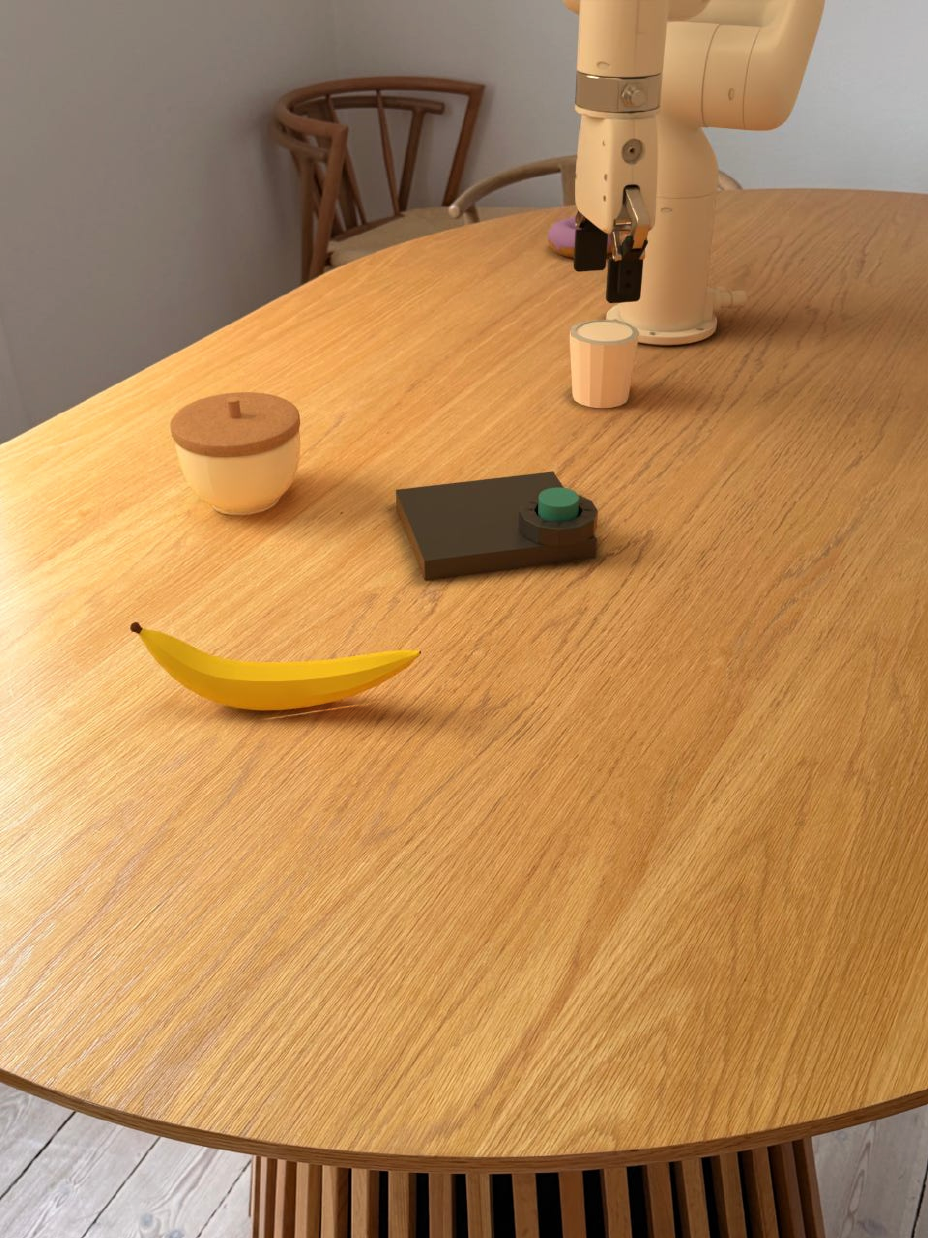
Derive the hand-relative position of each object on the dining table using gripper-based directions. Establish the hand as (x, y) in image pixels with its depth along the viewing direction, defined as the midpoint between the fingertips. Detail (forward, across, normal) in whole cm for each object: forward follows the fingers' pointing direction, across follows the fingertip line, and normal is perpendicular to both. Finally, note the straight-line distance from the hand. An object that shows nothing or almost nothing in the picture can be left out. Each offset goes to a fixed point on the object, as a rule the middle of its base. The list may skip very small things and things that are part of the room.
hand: (605, 284), depth 116 cm
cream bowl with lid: (+13, -12, +36) cm, 41 cm away
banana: (+13, -42, +36) cm, 57 cm away
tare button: (+9, -27, +13) cm, 31 cm away
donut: (+11, +47, -13) cm, 50 cm away
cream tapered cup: (+12, +1, 0) cm, 12 cm away
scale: (+12, -23, +17) cm, 31 cm away
